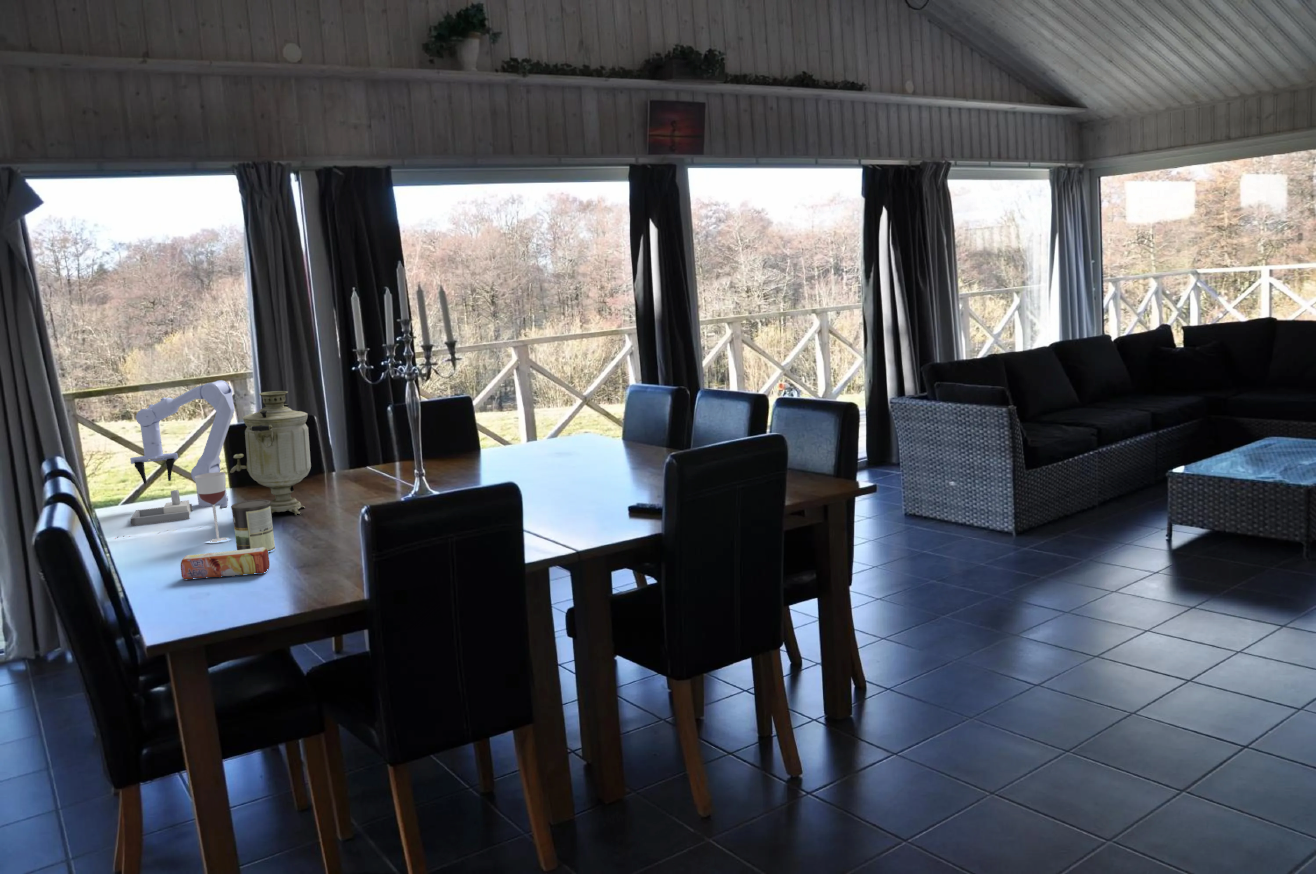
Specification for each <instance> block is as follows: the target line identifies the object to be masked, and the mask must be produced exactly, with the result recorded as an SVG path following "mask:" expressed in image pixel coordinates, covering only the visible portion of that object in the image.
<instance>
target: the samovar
mask: <svg viewBox="0 0 1316 874" xmlns="http://www.w3.org/2000/svg"><path fill="white" fill-rule="evenodd" d="M288 393H289V391H285V390H277V391H276V390H275V391H264V392H260V393H258V395H259V396H260V397H261V398H262V399H261V400H262V403H263V404H264V406H265V407H262V408H261V409H259V410H258V412H254V413H249V414H246V415H244V416H242V420H243V423H244V424H245V426H246V428H245V430H244V435H245V436H244V438H245V448H246V450H245V451H246V465H242V464H241V458H243V457H244V456H245V455H244V454H243V453H236V454H234V455H233V459H237V463H236V465H234V466H233V467H231V469H230V471H229V473H231V474H232V473H235V471H237V472H241V471H242V470H245V469H246V471H247V472H248V475H249V476H250V477H251V478H252V479H253V481H256V482H257V484H259V485H261V486H264V487H267V488H269V489H270V494H271V495H273V496H274V497H275V499H272V500H270V508H271V515H272V514H273V513H275V512H277V513H280V512H282V513H283V512H286V511H289V512H291V513H294V516H298V515H297V514H300V513H301V511H299V509H302V508H301V507H304V509H306V507H305V506H304V505H302V504H301V502H300V501H299V500H297V499H296V497H292V496H291V495H292V493H294V492H295V490H294V486H295V485H296V484H298V483H300V482H301V481H303V479H304V478H305V477H307V476H308V475H309V473H310V471H311V467H312V463H311V451H310V447H311V446H310V436H309V435H310V434H309V426H308V425H307V424H306V422H307V420H308V414H309V413H307V412H305V411H301V410H299V411H298V410H293V409H292V408H290V407H289V404H288V403H285V402H286V395H287V394H288ZM300 515H301V514H300Z"/></svg>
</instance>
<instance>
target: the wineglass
mask: <svg viewBox="0 0 1316 874" xmlns="http://www.w3.org/2000/svg"><path fill="white" fill-rule="evenodd" d="M226 479H227V478H226V472H224V471H220V472H214V473H206V474H201V475H197V476H195V481H194V483H195V487H197V489H196V492H197V491H198V494H199V496H200V498H201V499H202V500H203V501H205V502H207V503H210V504H212V506H211V507H212V511H213V512H212V513H213V521H214V529H215V534H216V535H215V538H212V540H211V539H210V540H211V541H212V542H217V541H221V540H227V539H226V538H227V537H220V532H219V527H218V526H219V525H218V524H219V523H218V517H217V509H216V505H215V504H216V503H217V502H218V501H219V500H221V499H222V498H223V497H224V495H225V490H226V491H227V487H226V485H227V483H226ZM216 538H217V539H216ZM211 541H210V542H211Z"/></svg>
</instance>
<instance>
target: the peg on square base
mask: <svg viewBox="0 0 1316 874" xmlns="http://www.w3.org/2000/svg"><path fill="white" fill-rule="evenodd" d="M179 491H180V490H178V489H173V490H170V497H171V502H166V503H165V504H164V506H163V507H164V508H163V509H164V514H170V513H178V512H186V511H189V516H190V515H191V511H190V504H191V503H190V500H189V499H188V500H182V501H181V498H180V492H179Z"/></svg>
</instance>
